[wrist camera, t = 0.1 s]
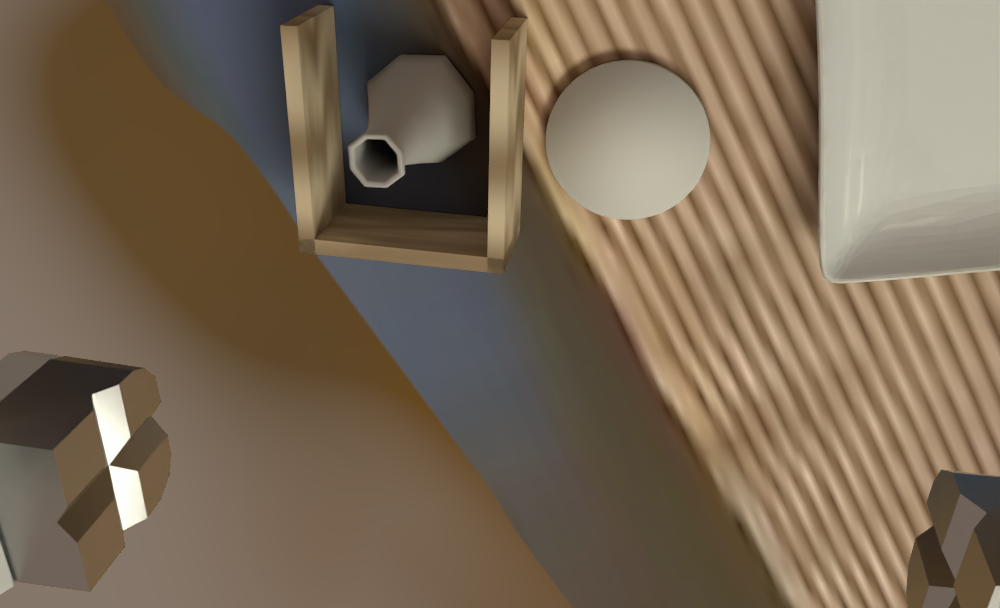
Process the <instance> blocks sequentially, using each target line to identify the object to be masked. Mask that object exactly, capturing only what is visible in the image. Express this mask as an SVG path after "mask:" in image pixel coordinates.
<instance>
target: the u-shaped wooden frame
mask: <svg viewBox="0 0 1000 608" xmlns="http://www.w3.org/2000/svg"><path fill="white" fill-rule="evenodd" d="M280 31H281V42H282V53H283V65H284V76H285V87H286V98H287V109H288V121H289V132H290V143H291V154H292V165H293V177H294V188H295V199H296V210H297V221H298V233H299V244H300V252H301V253H311V254H320V255H330V256H339V257H348V258H358V259H367V260H377V261H386V262H396V263H405V264H415V265H424V266H434V267H443V268H452V269H462V270H471V271H481V272H490V273H500V274H503V273H504V271H505V268H506V266H507V263H508V261H509V259H510V256H511V254H512V251H513V249H514V247H515V244H516V242H517V239H518V237H519V234H520V210H521V183H522V155H523V128H524V100H525V73H526V45H527V18H518V17H510V19H509V20H508V21H507V22H506V23H505V24H504V25H503V27H502V28H501V29H500V30H499V31H498V32H497V33H496V35H495V36H494V37H493V38H492V39H491V83H490V138H489V193H488V217H481V216H471V215H460V214H450V213H440V212H429V211H419V210H409V209H398V208H388V207H377V206H367V205H357V204H346V196H345V180H344V164H343V147H342V131H341V115H340V98H339V82H338V66H337V50H336V33H335V17H334V6H327V5H317V6H315V7H313V8H312V9H310V10H308V11H306V12H304V13H302V14H300V15H298V16H297V17H295V18H293V19H291V20H289V21H287V22H285V23H283V24H282V25H280Z"/></svg>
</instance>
